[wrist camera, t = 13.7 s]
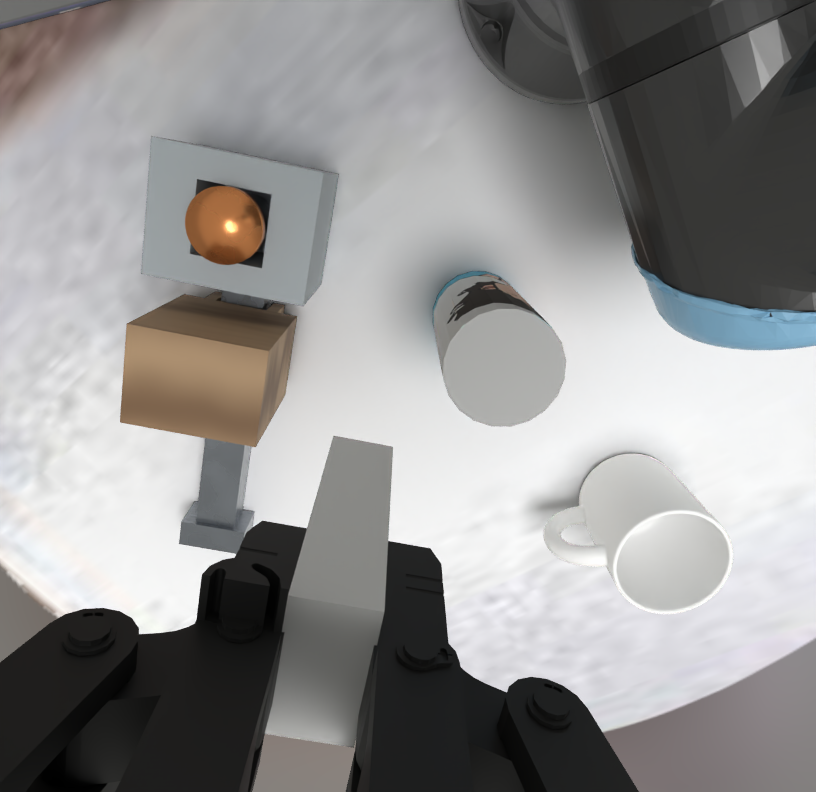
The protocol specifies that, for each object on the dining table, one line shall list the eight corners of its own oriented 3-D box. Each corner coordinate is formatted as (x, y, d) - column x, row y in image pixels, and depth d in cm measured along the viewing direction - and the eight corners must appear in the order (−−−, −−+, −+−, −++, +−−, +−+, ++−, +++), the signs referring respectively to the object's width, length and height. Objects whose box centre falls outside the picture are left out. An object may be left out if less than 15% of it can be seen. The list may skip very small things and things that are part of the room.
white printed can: (492, 372, 51) (525, 446, 37) (416, 333, 50) (421, 394, 36) (537, 296, 50) (589, 343, 35) (459, 254, 48) (481, 285, 34)
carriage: (197, 287, 49) (126, 323, 37) (303, 308, 49) (269, 351, 37) (189, 363, 51) (119, 422, 38) (291, 383, 51) (255, 447, 39)
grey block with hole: (198, 144, 46) (151, 136, 38) (338, 174, 47) (323, 172, 38) (187, 257, 49) (141, 273, 40) (321, 284, 49) (303, 306, 41)
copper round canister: (222, 179, 43) (188, 178, 37) (287, 192, 44) (266, 195, 37) (214, 245, 45) (181, 256, 38) (278, 258, 45) (256, 271, 38)
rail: (221, 264, 49) (207, 270, 45) (288, 277, 49) (279, 284, 46) (192, 522, 55) (179, 543, 52) (251, 532, 56) (241, 554, 52)
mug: (535, 549, 56) (562, 626, 47) (528, 461, 54) (555, 524, 44) (675, 533, 56) (732, 607, 46) (675, 444, 53) (735, 503, 44)
